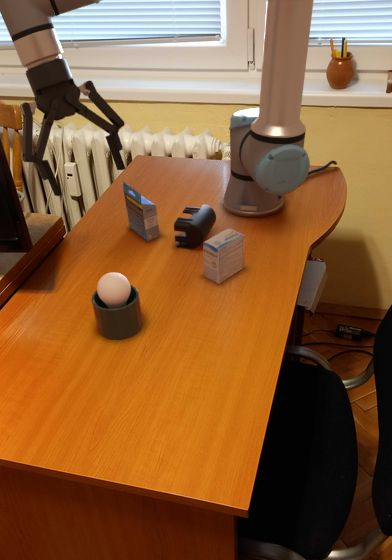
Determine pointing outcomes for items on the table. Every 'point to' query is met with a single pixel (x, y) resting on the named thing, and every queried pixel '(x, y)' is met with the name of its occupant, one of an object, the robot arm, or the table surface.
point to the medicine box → (223, 255)
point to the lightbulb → (114, 290)
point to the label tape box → (141, 214)
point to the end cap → (194, 226)
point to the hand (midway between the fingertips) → (90, 182)
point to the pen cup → (118, 317)
